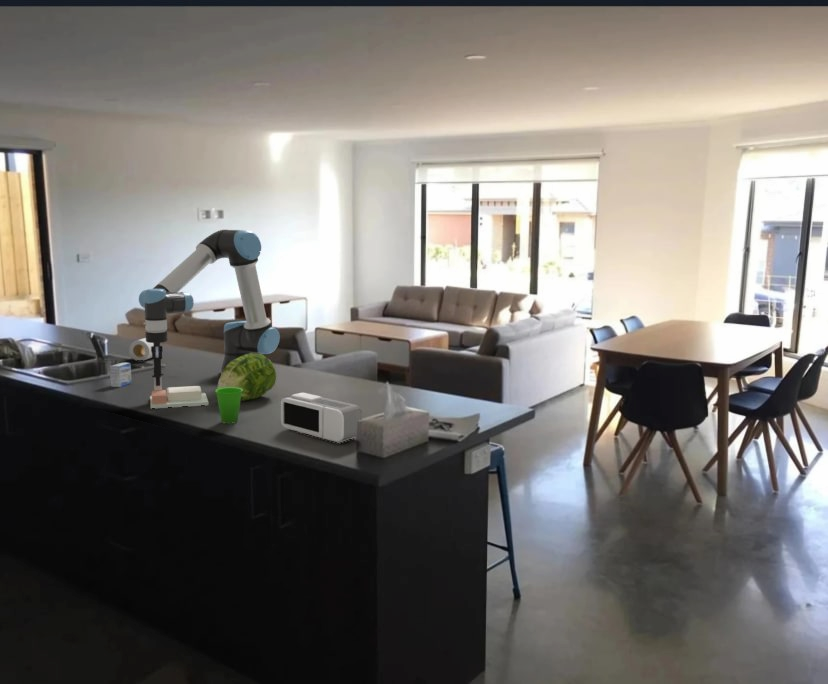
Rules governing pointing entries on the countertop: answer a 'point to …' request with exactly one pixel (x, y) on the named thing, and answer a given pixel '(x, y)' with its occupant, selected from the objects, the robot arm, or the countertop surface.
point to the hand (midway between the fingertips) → (158, 393)
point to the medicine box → (120, 374)
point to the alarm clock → (320, 416)
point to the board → (181, 402)
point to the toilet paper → (141, 349)
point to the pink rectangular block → (159, 397)
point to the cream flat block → (184, 393)
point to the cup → (229, 403)
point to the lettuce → (249, 375)
